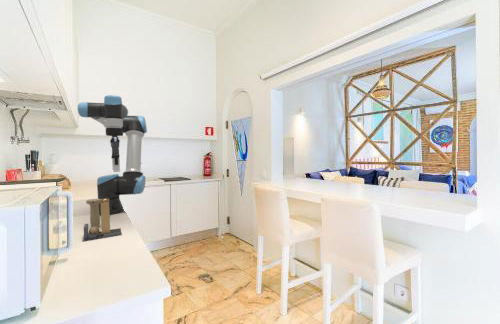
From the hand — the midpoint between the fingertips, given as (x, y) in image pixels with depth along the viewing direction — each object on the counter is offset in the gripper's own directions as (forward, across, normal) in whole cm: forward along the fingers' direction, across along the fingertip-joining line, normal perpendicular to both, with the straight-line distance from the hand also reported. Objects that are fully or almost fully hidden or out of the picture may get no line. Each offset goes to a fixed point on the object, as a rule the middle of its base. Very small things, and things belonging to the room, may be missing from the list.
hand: (116, 170), depth 122 cm
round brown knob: (+27, +14, -10) cm, 32 cm away
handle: (+29, +1, -10) cm, 30 cm away
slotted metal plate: (+28, +14, -7) cm, 32 cm away
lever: (+27, +14, -5) cm, 30 cm away
